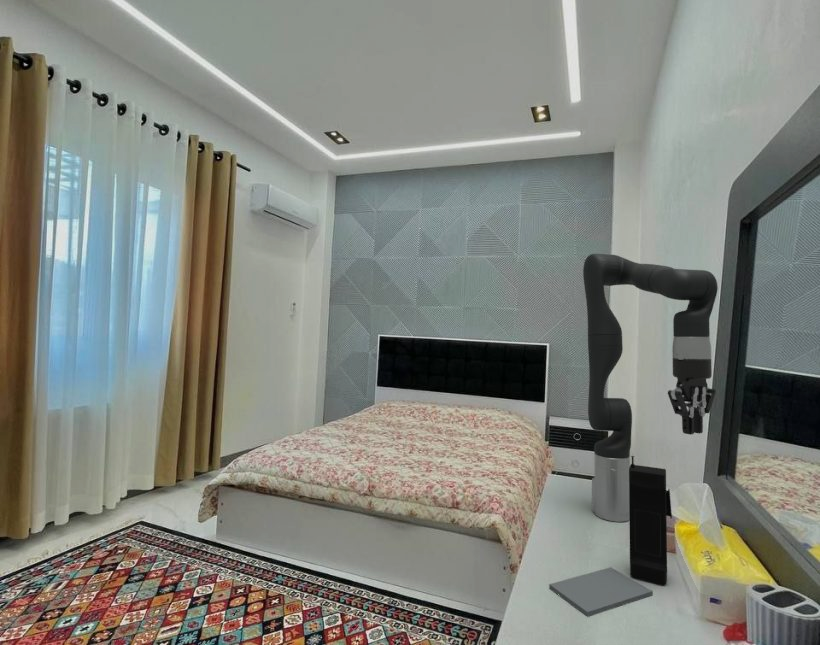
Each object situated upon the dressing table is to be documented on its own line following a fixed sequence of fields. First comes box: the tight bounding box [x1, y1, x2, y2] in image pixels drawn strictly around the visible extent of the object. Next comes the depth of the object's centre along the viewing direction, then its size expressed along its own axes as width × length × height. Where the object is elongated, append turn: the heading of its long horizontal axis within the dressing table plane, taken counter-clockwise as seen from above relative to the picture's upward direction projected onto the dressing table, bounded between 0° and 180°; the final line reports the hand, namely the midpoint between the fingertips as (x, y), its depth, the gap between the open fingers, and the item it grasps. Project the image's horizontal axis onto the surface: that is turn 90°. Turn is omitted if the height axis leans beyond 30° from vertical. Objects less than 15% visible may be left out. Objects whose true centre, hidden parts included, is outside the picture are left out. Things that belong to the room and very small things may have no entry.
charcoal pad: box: [548, 566, 654, 617], centre depth 89 cm, size 10×17×1 cm, turn 114°
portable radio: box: [628, 455, 673, 586], centre depth 95 cm, size 8×6×25 cm
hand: (692, 432), depth 102 cm, fingers open, 2 cm apart
